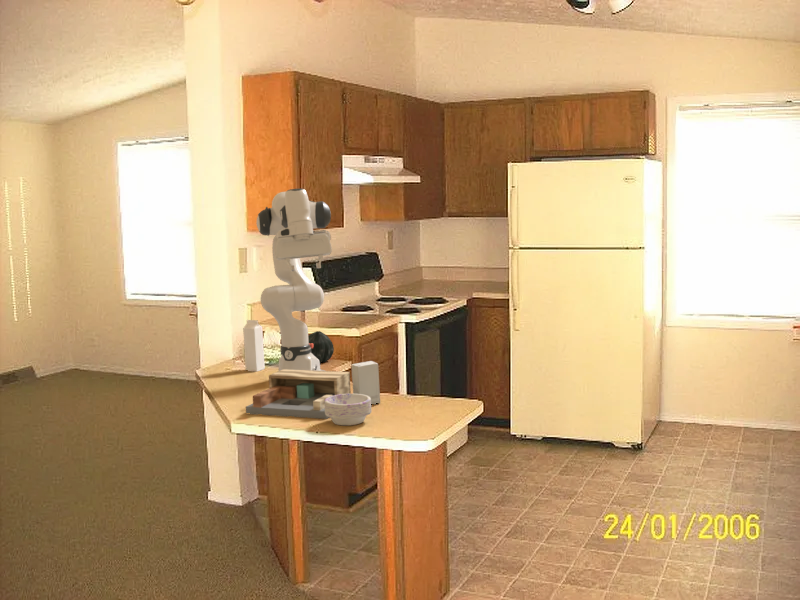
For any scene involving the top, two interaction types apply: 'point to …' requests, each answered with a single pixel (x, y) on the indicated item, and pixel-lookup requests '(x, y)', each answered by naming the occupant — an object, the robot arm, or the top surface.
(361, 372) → the skincare box
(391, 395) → the top surface
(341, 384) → the shelf
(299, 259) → the robot arm
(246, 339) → the milk
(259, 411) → the board
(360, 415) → the paper bowls
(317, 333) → the squash
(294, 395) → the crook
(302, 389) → the block
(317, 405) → the stick
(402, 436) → the top surface
